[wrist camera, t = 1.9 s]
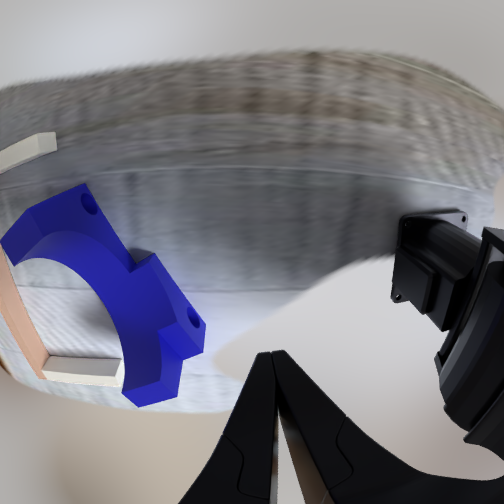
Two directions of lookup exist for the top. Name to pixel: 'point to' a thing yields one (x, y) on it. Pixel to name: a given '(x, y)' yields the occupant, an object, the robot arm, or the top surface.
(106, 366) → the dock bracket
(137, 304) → the blue half clamp
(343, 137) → the top surface
